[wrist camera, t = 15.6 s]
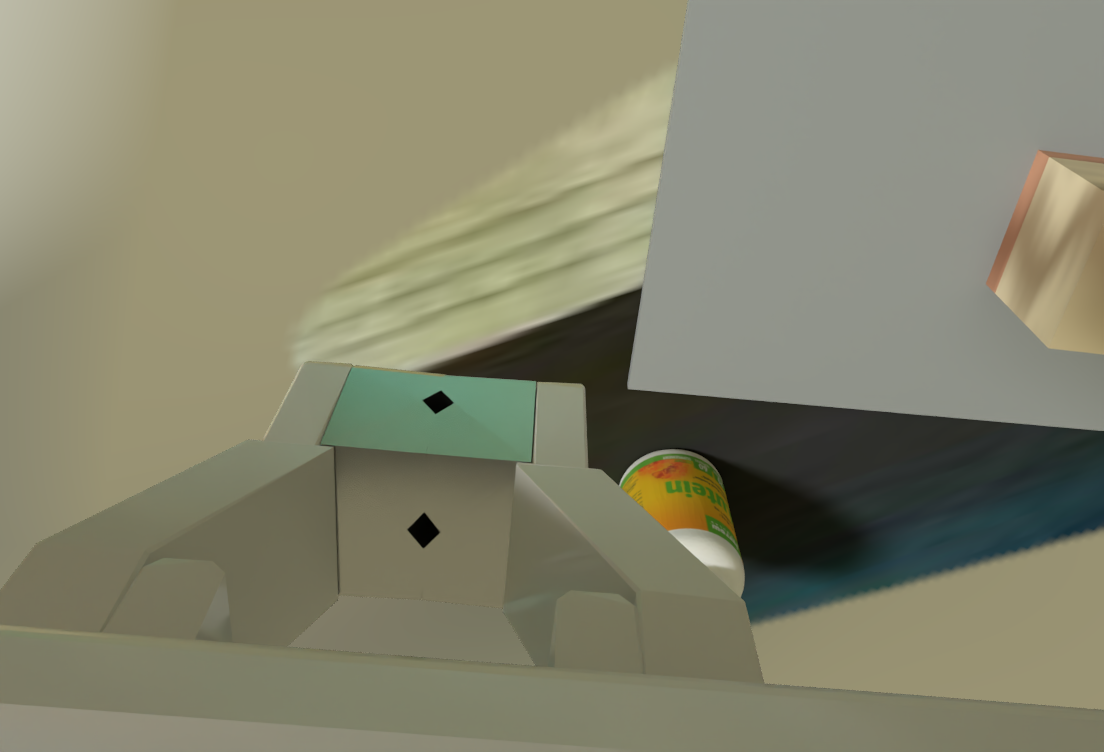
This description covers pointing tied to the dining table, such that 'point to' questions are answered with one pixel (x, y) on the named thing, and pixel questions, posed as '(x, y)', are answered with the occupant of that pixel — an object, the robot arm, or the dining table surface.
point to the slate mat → (865, 205)
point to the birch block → (1057, 253)
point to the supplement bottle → (689, 508)
